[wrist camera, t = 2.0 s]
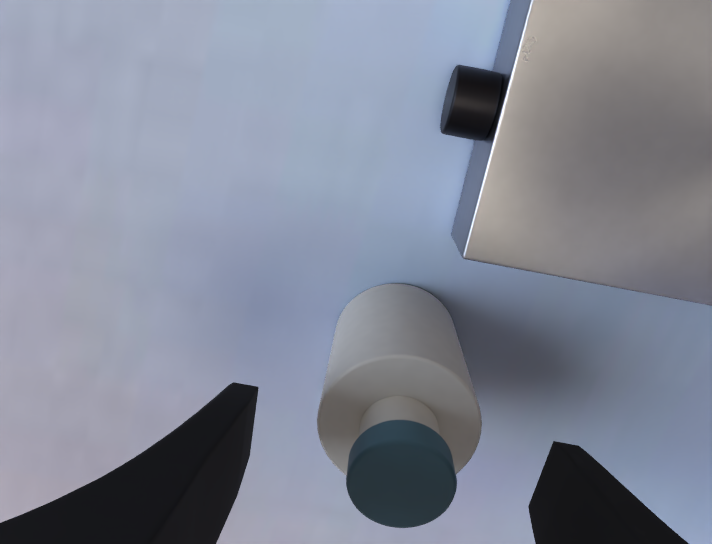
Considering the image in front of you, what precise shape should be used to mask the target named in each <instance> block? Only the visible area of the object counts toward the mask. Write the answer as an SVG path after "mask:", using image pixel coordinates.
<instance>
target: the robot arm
mask: <svg viewBox="0 0 712 544" xmlns="http://www.w3.org/2000/svg"><path fill="white" fill-rule="evenodd" d="M257 395H258V387H256V386H250V385H245V384H239V383H234V382H233V383H232V384H230V385H229V386H227V387H226V388H225V389H224V390H223V391H222V392H221V393H219V394H218V395H217V396H216V397H215V398H214V399H213V400H211V401H210V402H209V403H208V404H207V405H205V406H204V407H203V408H202V409H201V410H199V411H198V412H197V413H196V414H194V415H193V416H192V417H191V418H189V419H188V420H187V421H185V422H184V423H183V424H182V425H180V426H179V427H178V428H176V429H175V430H174V431H172V432H171V433H170V434H168V435H167V436H165V437H164V438H163V439H161V440H160V441H158V442H157V443H155V444H154V445H152V446H151V447H150V448H148V449H147V450H145V451H144V452H142V453H141V454H139V455H138V456H136V457H135V458H133V459H131V460H130V461H128V462H127V463H125V464H123V465H122V466H120V467H118V468H116V469H115V470H113V471H111V472H110V473H108V474H106V475H104V476H103V477H101V478H99V479H97V480H95V481H93V482H91V483H89V484H87V485H85V486H83V487H81V488H79V489H77V490H75V491H73V492H71V493H69V494H67V495H65V496H62V497H60V498H58V499H56V500H54V501H52V502H50V503H48V504H45V505H43V506H41V507H38V508H36V509H34V510H31V511H29V512H27V513H24V514H22V515H19V516H17V517H14V518H12V519H9V520H7V521H4V522H2V523H0V544H216V542H217V540H218V538H219V536H220V533H221V531H222V529H223V527H224V524H225V522H226V520H227V517H228V515H229V513H230V511H231V508H232V506H233V504H234V501H235V499H236V497H237V494H238V491H239V488H240V485H241V482H242V479H243V476H244V472H245V469H246V466H247V463H248V459H249V456H250V449H251V441H252V433H253V426H254V418H255V410H256V402H257ZM528 507H529V513H530V518H531V523H532V529H533V533H534V538H535V542H536V544H688V543H687V542H686V541H685V540H684V539H683V538H681V537H680V536H679V535H678V534H677V533H675V532H674V531H673V530H672V529H671V528H670V527H669V526H667V525H666V524H665V523H664V522H663V521H662V520H661V519H659V518H658V517H657V516H656V515H655V514H654V513H653V512H652V511H651V510H649V509H648V508H647V507H646V506H645V505H644V504H643V503H642V502H641V501H640V500H638V499H637V498H636V497H635V496H634V495H633V494H632V493H631V492H630V491H629V490H628V489H627V488H625V487H624V486H623V485H622V484H621V483H620V482H619V481H618V480H617V479H616V478H615V477H614V476H613V475H611V474H610V473H609V472H608V471H607V470H606V469H605V468H604V467H603V466H602V465H601V464H599V463H598V462H597V461H596V460H595V459H594V458H593V457H592V456H590V455H589V454H588V453H587V452H586V451H584V450H583V449H582V448H581V447H579V446H577V445H572V444H566V443H561V442H555V441H554V442H553V444H552V447H551V449H550V452H549V455H548V457H547V460H546V462H545V465H544V467H543V470H542V473H541V475H540V478H539V480H538V483H537V486H536V488H535V491H534V493H533V496H532V499H531V501H530V504H529V506H528Z"/></svg>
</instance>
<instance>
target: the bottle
mask: <svg viewBox="0 0 712 544" xmlns="http://www.w3.org/2000/svg"><path fill="white" fill-rule="evenodd" d="M317 426H318V433H319V438H320V441H321V444H322V446H323V448H324V450H325V452H326V454H327V456H328V457H329V459H330V460H331V461H332V463H333V464H334V465H335V466H336V467H337V468H338V469H339V470H340V471H341V472H343V473H344V474H345V475H346V476H347V478H346V485H347V490H348V493H349V496H350V498H351V500H352V502H353V504H354V505H355V506H356V508H357V509H358V510H359V511H360V512H361V513H362V514H363V515H365V516H366V517H367V518H369V519H371V520H372V521H375V522H377V523H379V524H382V525H385V526H390V527H396V528H408V527H416V526H420V525H423V524H426V523H428V522H431V521H432V520H434V519H436V518H437V517H439V516H440V515H441V514H442V513H444V512H445V511H446V509H447V508H448V507H449V505H450V504H451V502H452V500H453V498H454V495H455V492H456V486H457V480H456V474H457V473H458V472H459V471H460V470H461V469H462V468H463V467H464V466H465V465H466V464H467V463H468V461H469V460H470V459H471V457H472V455H473V454H474V452H475V450H476V447H477V445H478V443H479V439H480V435H481V427H482V420H481V412H480V408H479V404H478V401H477V398H476V394H475V391H474V388H473V385H472V382H471V378H470V375H469V372H468V369H467V365H466V362H465V359H464V356H463V352H462V349H461V346H460V343H459V339H458V336H457V333H456V330H455V327H454V323H453V321H452V318H451V316H450V314H449V312H448V311H447V309H446V308H445V307H444V305H443V304H442V303H441V302H440V301H439V300H438V299H437V298H436V297H434V296H433V295H432V294H430V293H428V292H427V291H425V290H423V289H420V288H418V287H415V286H411V285H406V284H384V285H379V286H375V287H373V288H370V289H368V290H366V291H364V292H362V293H360V294H359V295H358V296H356V297H355V298H354V299H353V300H351V301H350V302H349V303H348V305H347V306H346V307H345V308H344V310H343V312H342V313H341V315H340V317H339V319H338V322H337V326H336V330H335V334H334V339H333V344H332V349H331V353H330V358H329V363H328V367H327V372H326V377H325V382H324V386H323V391H322V396H321V400H320V405H319V410H318V418H317Z"/></svg>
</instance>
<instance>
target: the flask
mask: <svg viewBox="0 0 712 544" xmlns="http://www.w3.org/2000/svg"><path fill="white" fill-rule="evenodd" d="M440 128H441V133H443V134H446V135H452V136H457V137H462V138H467V139H473V140H475V142H474V146H473V150H472V154H471V158H470V162H469V166H468V170H467V174H466V178H465V181H464V185H463V189H462V193H461V197H460V201H459V205H458V209H457V213H456V217H455V221H454V225H453V229H452V233H451V235H452V238H453V240H454V242H455V244H456V246H457V248H458V250H459V252H460V254H461V256H462V258H464V259H468V260H473V261H478V262H484V263H489V264H494V265H500V266H505V267H510V268H515V269H521V270H526V271H531V272H537V273H542V274H547V275H553V276H558V277H563V278H568V279H574V280H579V281H584V282H590V283H595V284H600V285H606V286H611V287H616V288H622V289H627V290H632V291H637V292H643V293H648V294H653V295H659V296H664V297H669V298H675V299H680V300H685V301H690V302H696V303H701V304H706V305H712V0H510V4H509V8H508V12H507V16H506V20H505V24H504V28H503V32H502V36H501V40H500V44H499V48H498V52H497V55H496V59H495V63H494V67H493V71H489V70H484V69H479V68H473V67H468V66H463V65H457V66H456V67H455V69H454V71H453V73H452V76H451V78H450V82H449V85H448V89H447V92H446V96H445V101H444V105H443V110H442V116H441V125H440Z"/></svg>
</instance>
